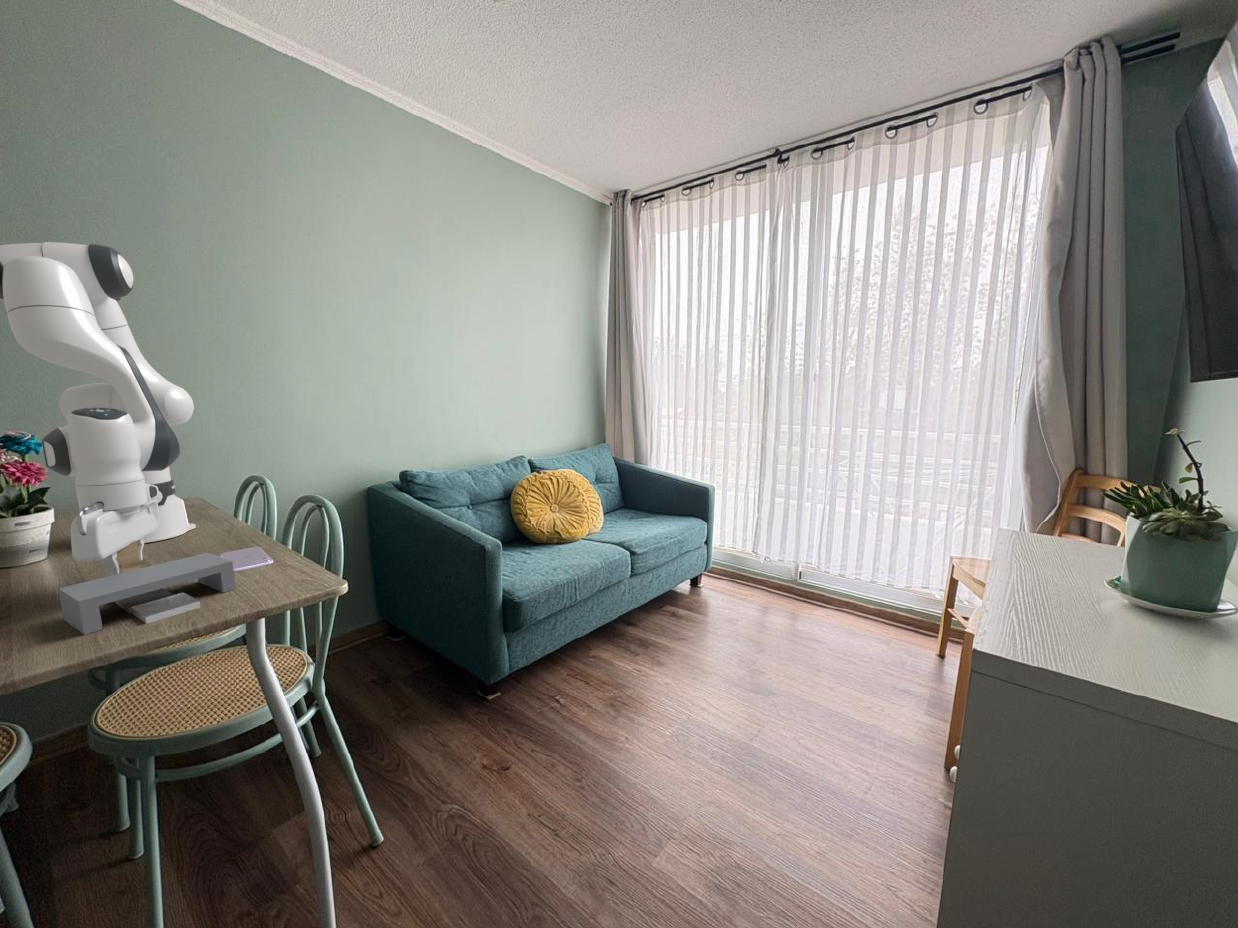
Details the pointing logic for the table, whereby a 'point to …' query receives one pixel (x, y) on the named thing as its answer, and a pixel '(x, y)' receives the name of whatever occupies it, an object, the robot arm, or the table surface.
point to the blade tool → (129, 563)
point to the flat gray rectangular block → (165, 607)
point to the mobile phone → (247, 558)
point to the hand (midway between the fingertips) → (125, 568)
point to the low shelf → (140, 586)
